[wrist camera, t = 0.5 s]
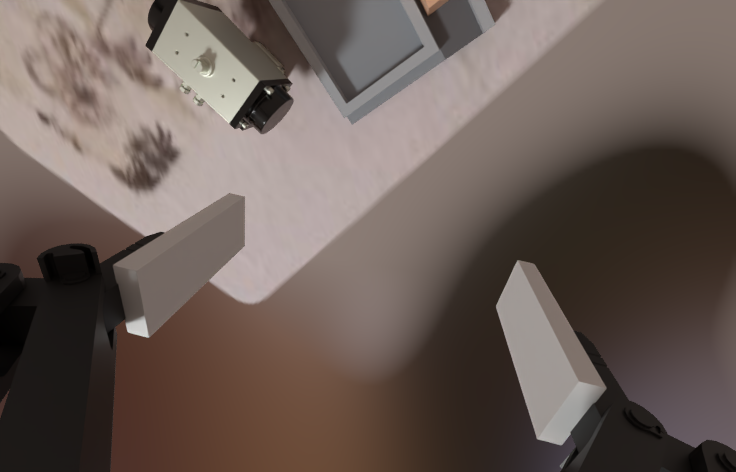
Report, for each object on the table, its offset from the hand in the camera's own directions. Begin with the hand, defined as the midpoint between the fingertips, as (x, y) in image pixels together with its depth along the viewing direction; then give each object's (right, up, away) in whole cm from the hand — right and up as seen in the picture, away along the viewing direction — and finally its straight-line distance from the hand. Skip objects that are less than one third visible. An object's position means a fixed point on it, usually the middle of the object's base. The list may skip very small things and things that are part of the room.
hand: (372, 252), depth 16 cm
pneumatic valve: (-12, +19, +20) cm, 30 cm away
